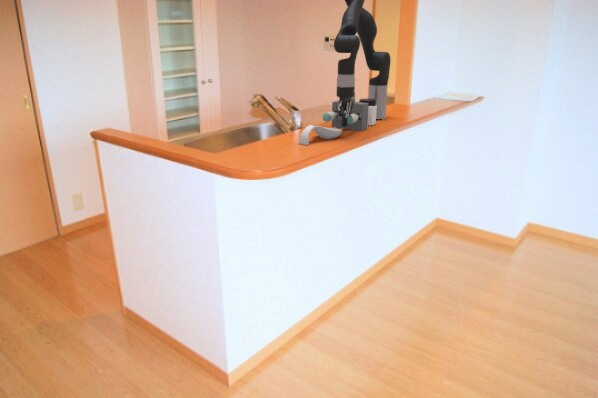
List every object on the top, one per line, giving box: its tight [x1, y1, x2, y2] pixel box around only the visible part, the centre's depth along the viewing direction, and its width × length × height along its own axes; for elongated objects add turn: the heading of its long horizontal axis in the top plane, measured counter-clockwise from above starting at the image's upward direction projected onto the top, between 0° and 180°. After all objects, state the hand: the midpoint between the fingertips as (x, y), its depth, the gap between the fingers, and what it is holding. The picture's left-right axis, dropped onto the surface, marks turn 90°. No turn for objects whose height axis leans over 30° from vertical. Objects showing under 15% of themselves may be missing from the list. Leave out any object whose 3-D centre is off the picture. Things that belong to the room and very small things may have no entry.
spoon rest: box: [298, 124, 343, 146], centre depth 201 cm, size 24×12×7 cm, turn 143°
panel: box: [331, 99, 369, 132], centre depth 223 cm, size 6×16×12 cm, turn 59°
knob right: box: [348, 113, 361, 124], centre depth 215 cm, size 11×4×4 cm, turn 149°
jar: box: [358, 98, 377, 126], centre depth 232 cm, size 9×8×12 cm
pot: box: [351, 91, 356, 103], centre depth 222 cm, size 3×3×5 cm
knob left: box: [322, 110, 338, 123], centre depth 220 cm, size 11×4×4 cm, turn 149°
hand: (344, 126), depth 208 cm, fingers closed
